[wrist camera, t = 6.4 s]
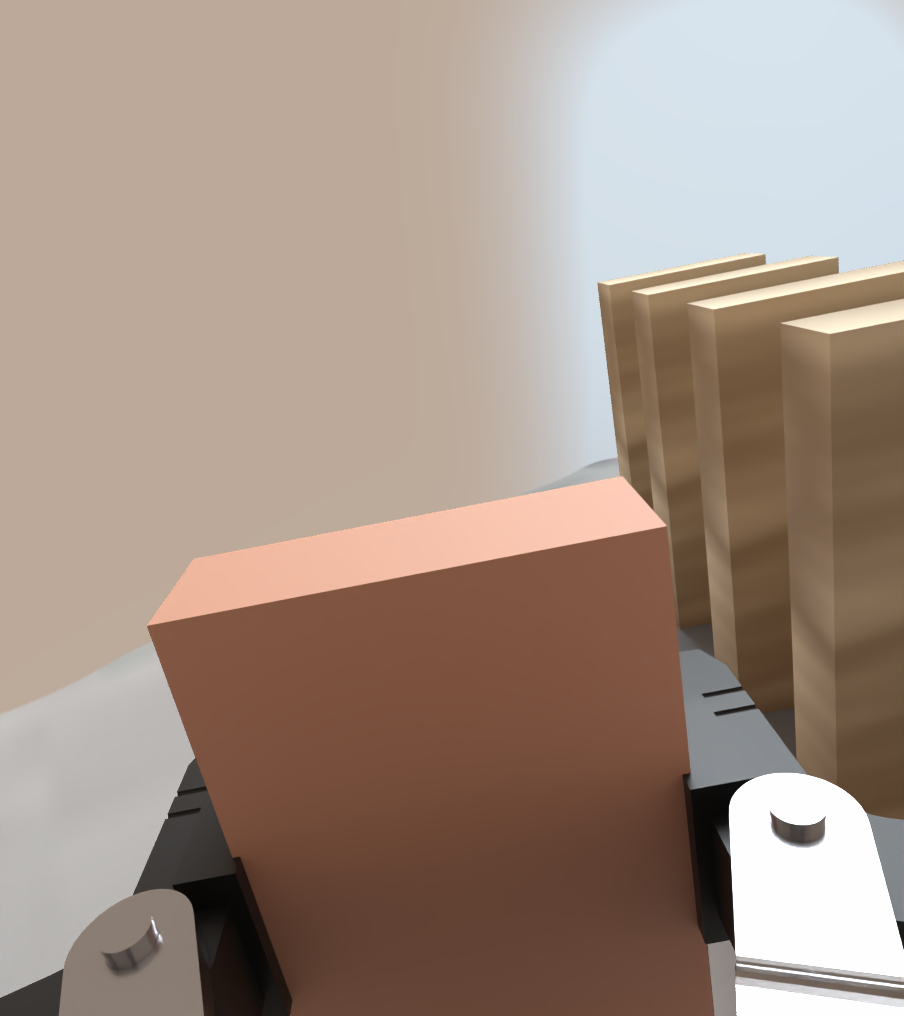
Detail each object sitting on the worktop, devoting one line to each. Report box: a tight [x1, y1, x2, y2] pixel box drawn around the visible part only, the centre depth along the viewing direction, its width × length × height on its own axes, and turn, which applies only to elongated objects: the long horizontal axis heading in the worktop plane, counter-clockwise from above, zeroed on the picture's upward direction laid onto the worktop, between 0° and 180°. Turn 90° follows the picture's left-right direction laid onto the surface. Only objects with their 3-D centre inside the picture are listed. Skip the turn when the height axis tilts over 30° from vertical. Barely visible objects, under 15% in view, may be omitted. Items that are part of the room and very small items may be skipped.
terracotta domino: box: [147, 476, 714, 1016], centre depth 9 cm, size 2×5×10 cm, turn 93°
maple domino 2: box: [631, 256, 839, 629], centre depth 22 cm, size 2×5×10 cm, turn 93°
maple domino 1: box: [598, 253, 766, 511], centre depth 26 cm, size 2×5×10 cm, turn 93°
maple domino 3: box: [687, 261, 904, 713], centre depth 18 cm, size 2×5×10 cm, turn 93°
